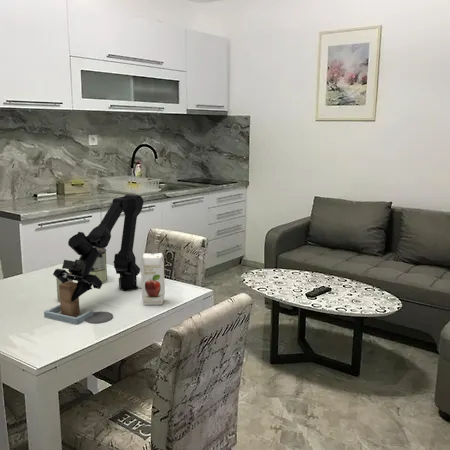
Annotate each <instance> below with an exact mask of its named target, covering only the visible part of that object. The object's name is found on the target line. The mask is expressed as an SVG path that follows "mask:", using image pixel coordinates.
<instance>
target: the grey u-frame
mask: <svg viewBox="0 0 450 450" xmlns="http://www.w3.org/2000/svg"><path fill="white" fill-rule="evenodd" d="M60 312H61V306H60V304H58V305H55V306H53V307H50V309H47V310H44V311H43V317H44V318H47V319H51V320H56V321H60V322H64V323H69V324H73V325H79V324H81V323H83V322H86V321H85V319H87V318H89V317H91V316H93V312H94V310H89V311H87V312H85V313H83V314H80V315H78V316H76V317H71V316H67V315H63V314H61V313H60Z"/></svg>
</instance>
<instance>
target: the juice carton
mask: <svg viewBox="0 0 450 450" xmlns="http://www.w3.org/2000/svg"><path fill="white" fill-rule="evenodd" d="M140 263H141V264H140V273H141V299H142V303H143V305H144V306H162V305H163V302H164V299H165V291H166V290H165V259H164V255H163V252H159V253H145V252H144V253H143V254H142V258H141V262H140Z"/></svg>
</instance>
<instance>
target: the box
mask: <svg viewBox="0 0 450 450" xmlns="http://www.w3.org/2000/svg"><path fill="white" fill-rule="evenodd" d="M66 271H67V272H68V273H69V274H72V273H70V272H69V271H68V270H66ZM55 278H56V277H55ZM71 282H74V280H72V281H71ZM60 284H62V281H60V280H59V279H58V278H56V293H57V295H56V296H57V302H58V301H59V302H60V290H59V285H60Z"/></svg>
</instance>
